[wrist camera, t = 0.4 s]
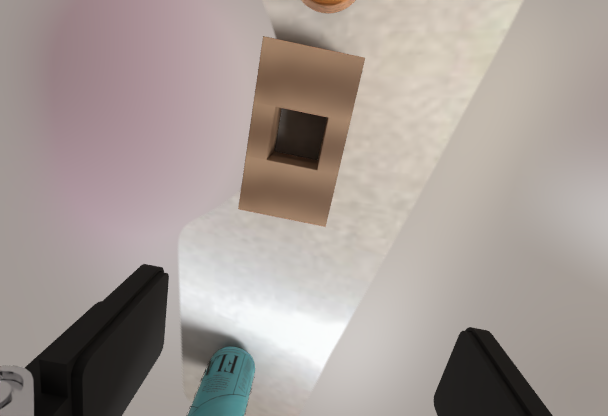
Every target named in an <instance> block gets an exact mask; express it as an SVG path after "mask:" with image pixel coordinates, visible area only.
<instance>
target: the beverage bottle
mask: <svg viewBox="0 0 608 416" xmlns="http://www.w3.org/2000/svg"><path fill="white" fill-rule="evenodd" d="M212 356H213V357H212V358H211V360H210V362H209V365H208V368H207V370H205V372H204V373H205V375H204V374H203V375H204V377H203V376H202V377H203V379H201V380H202V382H201V381H200V382H201V384H199V385H200V387H198V388H199V389H198V392H197V394H196V396H194V398H195V399H193V400H194V401H193V404H192V406H191V409H190V411H189V414H188V416H244V413H245V410H246V407H247V405H248V404H247V402H248V397H249V395H250V394H249V393H250V392H251V390H252V389H251V386H252V381H253V377H254V373H255V364H254V361H253V358H252V357H251V356H250V354H249V353H247V352H246V351H245V350H243V349H241V348H238V347H225V348H222V349H220V350H218V351H217V352H216V353H215V354H214V355H212ZM254 378H255V377H254Z"/></svg>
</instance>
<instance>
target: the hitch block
mask: <svg viewBox="0 0 608 416" xmlns="http://www.w3.org/2000/svg"><path fill="white" fill-rule="evenodd" d="M364 61H365V58H363V57H359V56H354V55H349V54H344V53H340V52H335V51H330V50H326V49H321V48H316V47H311V46H307V45H302V44H297V43H293V42H288V41H283V40H278V39H274V38H269V37H264V36H263V41H262V48H261V55H260V63H259V69H258V76H257V83H256V90H255V97H254V104H253V111H252V118H251V124H250V131H249V138H248V145H247V152H246V159H245V166H244V173H243V181H242V187H241V194H240V201H239V208H238V209H240V210H245V211H250V212H255V213H260V214H265V215H270V216H275V217H280V218H285V219H290V220H295V221H299V222H304V223H309V224H314V225H319V226H324V227H326V222H327V218H328V214H329V210H330V205H331V201H332V197H333V193H334V188H335V184H336V180H337V176H338V171H339V167H340V163H341V159H342V154H343V150H344V146H345V142H346V137H347V133H348V129H349V125H350V120H351V116H352V112H353V108H354V103H355V99H356V95H357V91H358V86H359V82H360V78H361V73H362V69H363V65H364ZM282 108H285V109H290V110H294V111H299V112H304V113H309V114H314V115H318V116H323V117H327V119H326V123H325V128H324V133H323V137H322V142H321V147H320V151H319V156H318V160H314V159H310V158H305V157H300V156H295V155H290V154H285V153H280V152H276V151H275V145H276V139H277V133H278V128H279V122H280V116H281V110H282Z"/></svg>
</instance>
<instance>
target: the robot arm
mask: <svg viewBox="0 0 608 416" xmlns="http://www.w3.org/2000/svg"><path fill="white" fill-rule="evenodd" d="M168 279H169V276H168V274H167V273H164V270H163V268H162V267H157V266H152V265H146V264H143V265H141V266H140V267H139V268H138V269H137V270H136V271H135V272H134V273H133V274H132V275H130V276H129V277H128V278H127V279H126V280H125V281H124V282H123V283H122V284H121V285H120V286H118V287H117V288H116V289H115V290H114V291H113V292H112V293H111V294H110V295H109V296H108V297H106V299H104V300H103V301H101V302H98V303H97V304H95V305H94V306H93V307H92V308H90V309H89V310H88V311H87V312H86V313H85V314H84V315H83V316H82V317H81V318H79V319H78V320H77V321H76V322H75V323H74V324H73V325H72V326H70V327H69V328H68V329H67V330H66V331H65V332H64V333H63V334H62V335H61V336H60V337H58V338H57V339H56V340H55V341H54V342H53V343H52V344H51V345H49V346H48V347H47V348H46V349H45V350H44V351H43V352H42V353H41V354H39V355H38V356H37V357H36V358H35V359H34V360H33V361H32V362H31V363H30V364H28V365H27V366H26V367H25V368H22V367H18V366H0V416H122V414H123V413H124V411H125V410H126V408H127V406H128V405H129V403H130V402H131V400H132V398H133V397H134V395H135V394H136V392H137V390H138V389H139V387H140V386H141V384H142V383H143V381H144V379H145V378H146V376H147V375H148V373H149V372H150V370H151V368H152V366H153V365H154V364H155V362H156V360H157V359H158V357H159V356H160V353H161V351H162V348H163V344H164V333H165V318H166V306H167V293H168ZM434 407H435V410H436V412H437V415H438V416H552V414H551V413H550V412H549V410H548V409H547V408H546V406H545V405H544V404H543V402H542V401H541V399H540V398H539V397H538V396H537V394H536V393H535V391H534V390H533V389H532V388H531V386H530V385H529V383H528V382H527V381H526V379H525V378H524V377H523V375H522V374H521V373H520V371H519V370H518V369H517V367H516V366H515V365H514V363H513V362H512V361H511V359H510V358H509V357H508V355H507V354H506V353H505V351H504V350H503V349H502V347H501V346H500V344H499V343H498V342H497V340H496V339H495V338H494V336H493V335H492V334H491V333H490V332H489V331H487V330H481V329H476V328H471V327H469V328H467V329H466V330H465V331H462V332H461V333H460V334H459V337H458V339H457V342H456V344H455V346H454V349H453V351H452V353H451V356H450V358H449V361H448V363H447V366H446V368H445V370H444V373H443V375H442V378H441V380H440V383H439V385H438V387H437V390H436V392H435V395H434Z"/></svg>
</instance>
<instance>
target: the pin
mask: <svg viewBox="0 0 608 416" xmlns="http://www.w3.org/2000/svg"><path fill="white" fill-rule="evenodd" d="M301 1H302V2H303V3H304V4H305V5H307V6H308V7H309V8H311V9H313V10H315V11H317V12H321V13H335V12H339V11H342V10H344V9H346V8H347V7H349V6H350V5H351V4H352V3H354V2H355V0H301Z"/></svg>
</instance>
